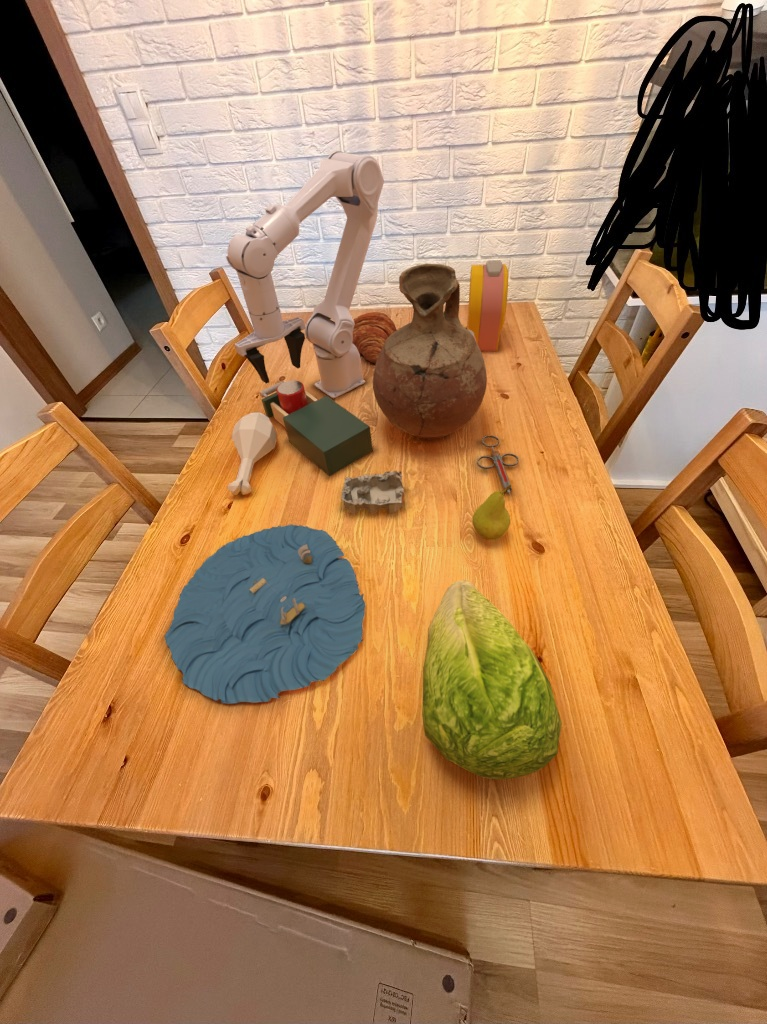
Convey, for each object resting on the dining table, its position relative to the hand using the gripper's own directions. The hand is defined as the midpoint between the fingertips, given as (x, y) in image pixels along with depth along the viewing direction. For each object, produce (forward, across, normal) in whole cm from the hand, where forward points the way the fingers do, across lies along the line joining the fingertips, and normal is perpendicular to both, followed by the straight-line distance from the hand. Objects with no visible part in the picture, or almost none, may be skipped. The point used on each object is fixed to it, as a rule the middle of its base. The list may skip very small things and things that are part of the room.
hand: (281, 373), depth 96 cm
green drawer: (+9, +1, +3) cm, 9 cm away
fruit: (+10, -4, +53) cm, 54 cm away
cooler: (+9, +1, +16) cm, 19 cm away
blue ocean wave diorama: (+10, +29, +41) cm, 51 cm away
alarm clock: (+10, -52, +10) cm, 54 cm away
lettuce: (+10, +15, +68) cm, 71 cm away
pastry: (+10, -31, -9) cm, 34 cm away
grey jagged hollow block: (+10, +4, +34) cm, 36 cm away
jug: (+10, -18, +26) cm, 33 cm away
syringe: (+10, -18, +44) cm, 49 cm away
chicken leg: (+10, +15, +10) cm, 21 cm away
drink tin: (+7, +1, +5) cm, 9 cm away
